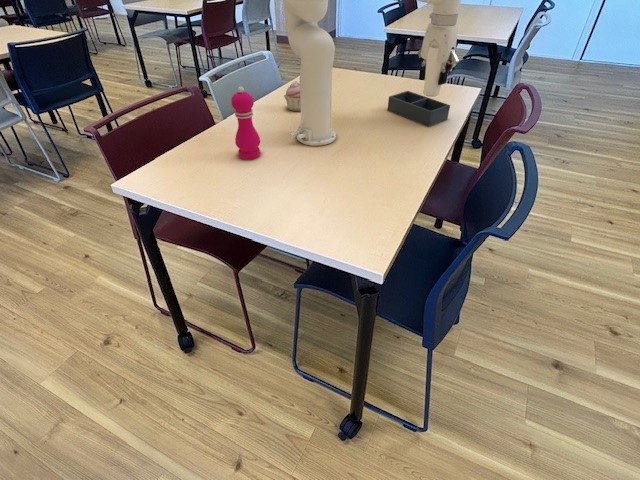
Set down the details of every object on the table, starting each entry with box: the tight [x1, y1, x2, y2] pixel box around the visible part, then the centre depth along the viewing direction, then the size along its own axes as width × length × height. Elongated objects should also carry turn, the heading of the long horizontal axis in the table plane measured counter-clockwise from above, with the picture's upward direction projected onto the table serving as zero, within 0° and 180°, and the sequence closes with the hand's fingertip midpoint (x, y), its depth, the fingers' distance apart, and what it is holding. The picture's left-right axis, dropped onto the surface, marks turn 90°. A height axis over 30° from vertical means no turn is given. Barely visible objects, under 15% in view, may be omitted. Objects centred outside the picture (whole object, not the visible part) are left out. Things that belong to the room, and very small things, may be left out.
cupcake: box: [283, 80, 301, 112], centre depth 139 cm, size 9×9×10 cm
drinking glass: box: [422, 47, 447, 98], centre depth 124 cm, size 7×7×15 cm
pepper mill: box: [230, 86, 261, 161], centre depth 107 cm, size 7×7×20 cm
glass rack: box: [387, 90, 451, 127], centre depth 135 cm, size 10×19×5 cm, turn 38°
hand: (433, 81), depth 126 cm, fingers closed on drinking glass, 6 cm apart
